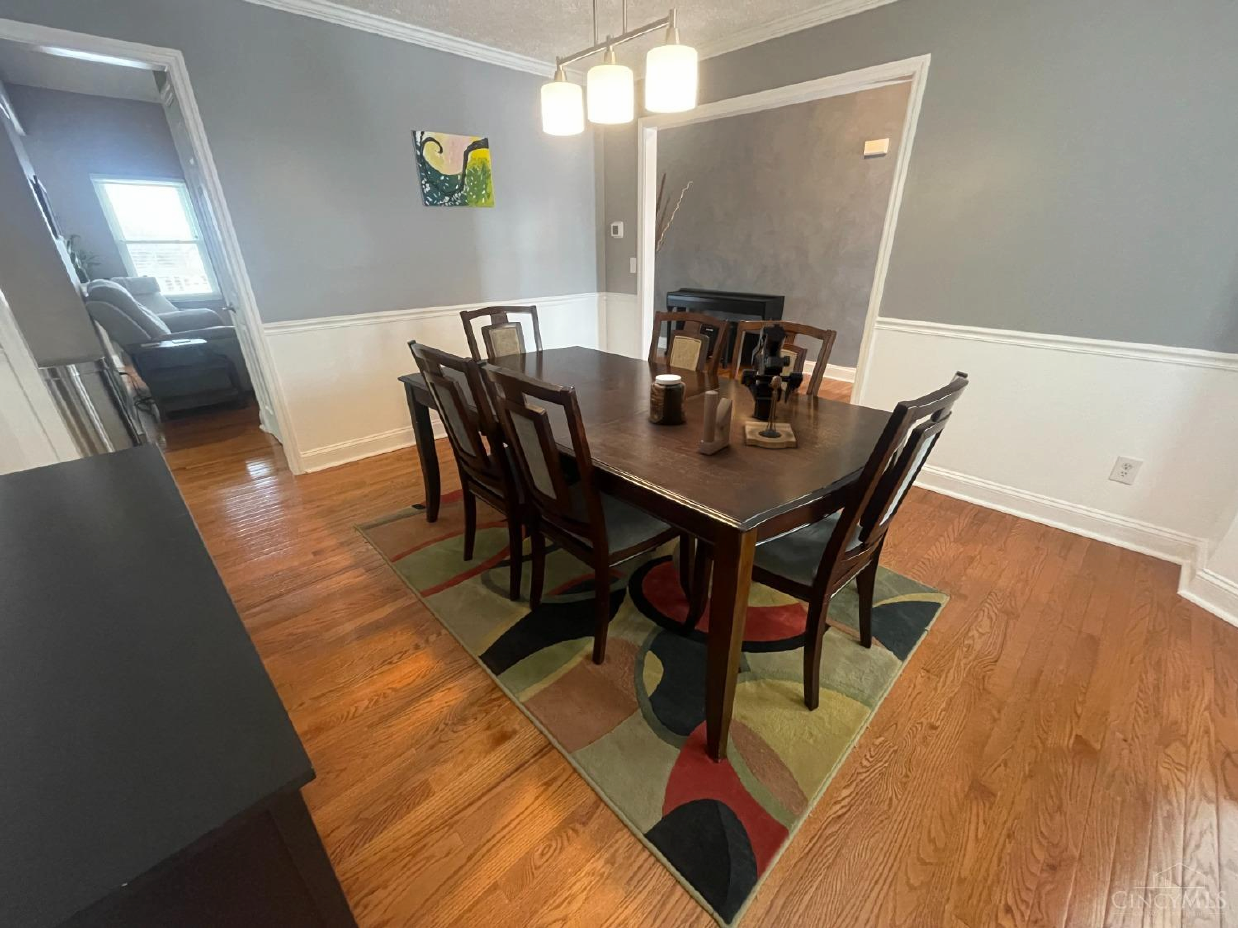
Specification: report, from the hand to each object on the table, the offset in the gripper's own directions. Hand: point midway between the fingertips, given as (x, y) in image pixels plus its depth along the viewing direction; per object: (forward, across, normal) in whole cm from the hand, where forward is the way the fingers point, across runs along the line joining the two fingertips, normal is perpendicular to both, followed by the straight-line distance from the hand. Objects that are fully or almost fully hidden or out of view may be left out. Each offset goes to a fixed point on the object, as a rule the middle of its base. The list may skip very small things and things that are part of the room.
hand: (770, 402), depth 155 cm
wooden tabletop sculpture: (+13, 0, +1) cm, 13 cm away
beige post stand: (+20, -17, -5) cm, 27 cm away
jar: (+3, -33, +13) cm, 35 cm away
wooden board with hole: (+11, 0, +3) cm, 11 cm away
